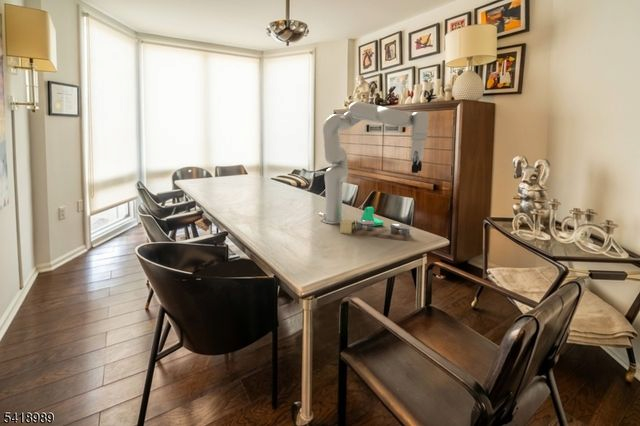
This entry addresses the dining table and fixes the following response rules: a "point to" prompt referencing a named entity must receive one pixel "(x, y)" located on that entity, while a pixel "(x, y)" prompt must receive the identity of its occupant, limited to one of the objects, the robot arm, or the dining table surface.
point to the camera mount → (370, 216)
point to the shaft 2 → (397, 227)
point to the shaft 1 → (364, 224)
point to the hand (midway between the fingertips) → (416, 171)
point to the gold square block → (347, 226)
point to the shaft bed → (381, 233)
